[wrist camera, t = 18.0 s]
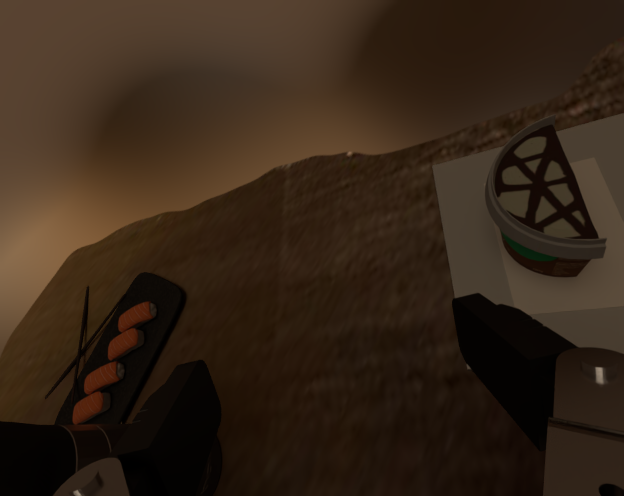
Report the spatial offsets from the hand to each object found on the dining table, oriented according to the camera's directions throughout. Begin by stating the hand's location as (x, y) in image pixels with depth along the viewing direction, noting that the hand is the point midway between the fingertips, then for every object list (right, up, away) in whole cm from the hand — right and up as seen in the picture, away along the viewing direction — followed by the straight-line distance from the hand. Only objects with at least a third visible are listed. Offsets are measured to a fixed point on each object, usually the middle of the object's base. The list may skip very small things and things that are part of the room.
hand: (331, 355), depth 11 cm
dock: (+23, +4, +23) cm, 33 cm away
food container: (+21, +4, +23) cm, 31 cm away
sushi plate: (-37, -14, +49) cm, 63 cm away
